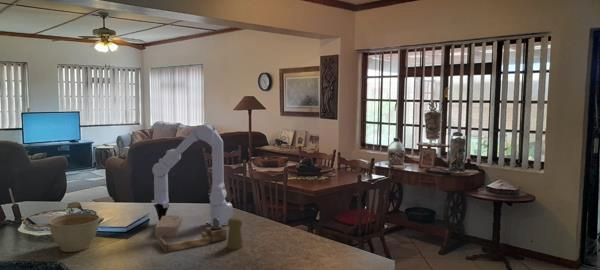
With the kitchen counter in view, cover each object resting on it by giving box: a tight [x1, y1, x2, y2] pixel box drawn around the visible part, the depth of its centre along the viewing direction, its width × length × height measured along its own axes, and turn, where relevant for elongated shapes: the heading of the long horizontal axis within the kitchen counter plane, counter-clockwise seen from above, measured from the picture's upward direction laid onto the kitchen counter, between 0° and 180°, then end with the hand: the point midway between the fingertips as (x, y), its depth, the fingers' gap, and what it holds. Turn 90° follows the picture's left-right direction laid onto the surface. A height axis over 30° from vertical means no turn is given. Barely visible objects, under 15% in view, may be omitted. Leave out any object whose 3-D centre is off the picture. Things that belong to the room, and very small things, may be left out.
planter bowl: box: [48, 212, 100, 253], centre depth 157 cm, size 16×16×11 cm
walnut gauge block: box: [205, 226, 227, 243], centre depth 169 cm, size 6×6×4 cm
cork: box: [226, 216, 244, 250], centre depth 160 cm, size 6×6×11 cm
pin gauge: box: [212, 218, 219, 231], centre depth 169 cm, size 2×2×8 cm
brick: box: [154, 214, 183, 238], centre depth 179 cm, size 17×8×5 cm, turn 7°
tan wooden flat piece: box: [157, 231, 212, 253], centre depth 163 cm, size 17×11×2 cm, turn 123°
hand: (161, 220), depth 188 cm, fingers closed
